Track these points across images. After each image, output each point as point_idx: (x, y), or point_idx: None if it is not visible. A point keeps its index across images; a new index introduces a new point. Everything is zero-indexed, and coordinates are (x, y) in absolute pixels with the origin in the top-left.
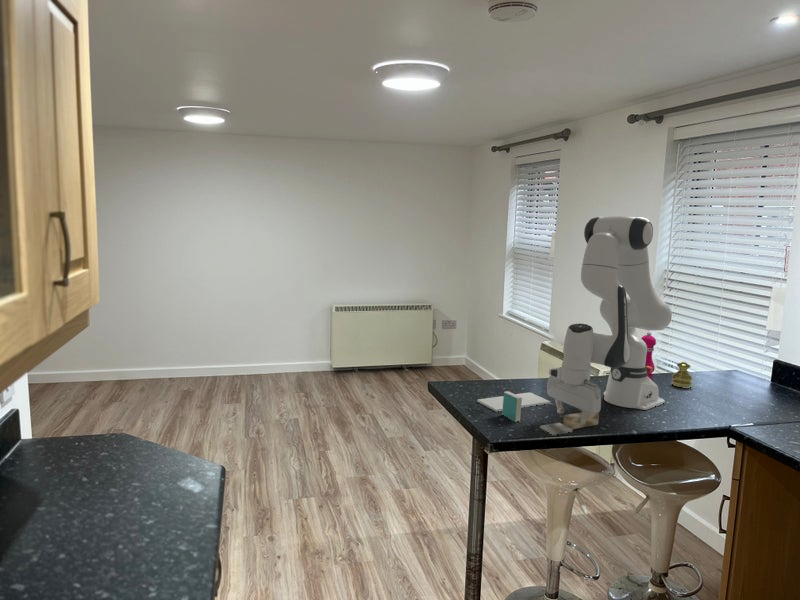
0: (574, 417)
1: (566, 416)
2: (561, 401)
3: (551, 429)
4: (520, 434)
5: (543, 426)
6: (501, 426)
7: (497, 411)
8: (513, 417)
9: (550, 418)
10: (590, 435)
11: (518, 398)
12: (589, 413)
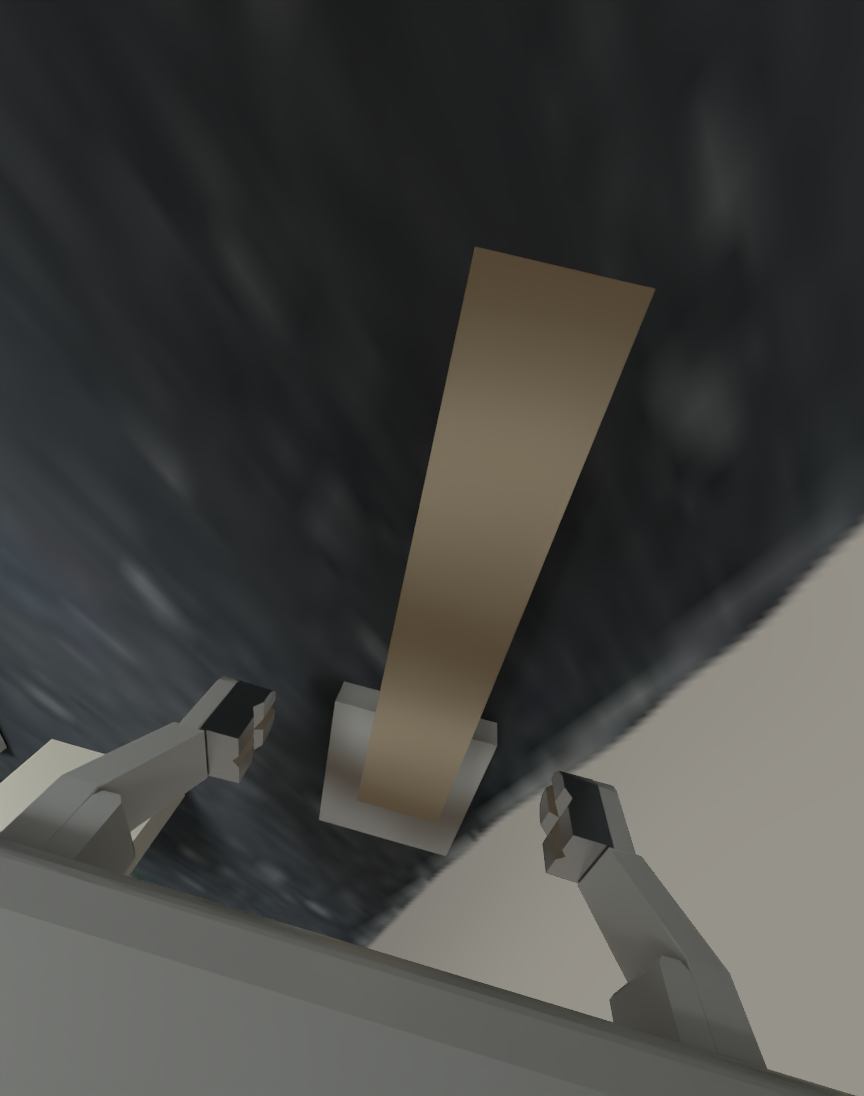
0: (456, 775)
1: (392, 808)
2: (118, 830)
3: (404, 828)
4: (338, 891)
5: (338, 816)
6: (217, 866)
7: (2, 743)
8: None
9: (195, 603)
10: (650, 693)
11: None
12: (730, 989)
